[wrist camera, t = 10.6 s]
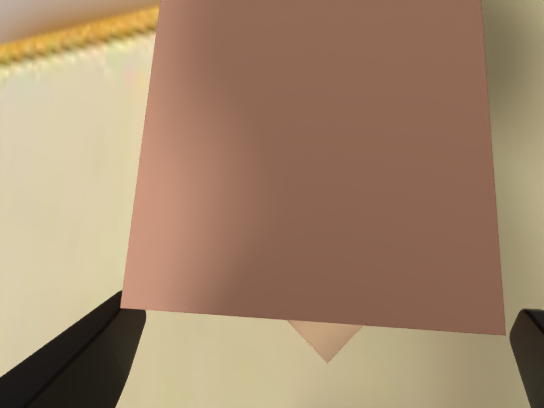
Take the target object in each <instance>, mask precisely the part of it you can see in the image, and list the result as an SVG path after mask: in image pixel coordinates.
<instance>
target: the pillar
mask: <svg viewBox="0 0 544 408" xmlns="http://www.w3.org/2000/svg"><path fill="white" fill-rule="evenodd" d="M120 308H128V309H142V310H156V311H170V312H184V313H198V314H212V315H226V316H240V317H254V318H268V319H282V320H296V321H310V322H324V323H338V324H352V325H366V326H380V327H394V328H408V329H422V330H436V331H450V332H464V333H478V334H492V335H506V330H505V317H504V303H503V290H502V277H501V263H500V250H499V236H498V223H497V209H496V196H495V183H494V169H493V156H492V142H491V129H490V116H489V102H488V89H487V75H486V62H485V48H484V35H483V22H482V8H481V0H161V1H160V8H159V16H158V24H157V31H156V39H155V46H154V54H153V62H152V69H151V77H150V85H149V92H148V100H147V107H146V115H145V123H144V130H143V138H142V146H141V153H140V161H139V169H138V176H137V184H136V191H135V199H134V207H133V214H132V222H131V230H130V237H129V245H128V252H127V260H126V268H125V275H124V283H123V291H122V298H121V306H120Z"/></svg>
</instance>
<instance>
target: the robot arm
mask: <svg viewBox="0 0 544 408" xmlns="http://www.w3.org/2000/svg"><path fill="white" fill-rule="evenodd" d="M122 291H123V290H121V291H119V292H117V293H116V294H115V295H113V296H112V297H111V298H109V299H108V300H106V301H105V302H104V303H102V304H101V305H99V306H98V307H97V308H95V309H94V310H93V311H91V312H90V313H88V314H87V315H86V316H84V317H83V318H82V319H80V320H79V321H77V322H76V323H75V324H73V325H72V326H71V327H69V328H68V329H66V330H65V331H64V332H62V333H61V334H59V335H58V336H57V337H55V338H54V339H53V340H51V341H50V342H48V343H47V344H46V345H44V346H43V347H42V348H40V349H39V350H37V351H36V352H35V353H33V354H32V355H30V356H29V357H28V358H26V359H25V360H24V361H22V362H21V363H19V364H18V365H17V366H15V367H14V368H13V369H11V370H10V371H8V372H7V373H6V374H4V375H3V376H1V377H0V408H115V407H116V405H117V402H118V400H119V398H120V395H121V393H122V391H123V388H124V386H125V383H126V381H127V378H128V375H129V372H130V370H131V366H132V363H133V360H134V357H135V354H136V350H137V347H138V344H139V341H140V338H141V335H142V331H143V328H144V325H145V322H146V311H145V310H142V309H128V308H120V306H121V298H122ZM510 343H511V347H512V350H513V353H514V356H515V359H516V363H517V366H518V369H519V372H520V375H521V378H522V381H523V385H524V388H525V391H526V394H527V397H528V400H529V403H530V406H531V408H544V310H541V309H522V310H521V311H520V312H519V314H518V316H517V318H516V320H515V322H514V325H513V327H512V329H511V332H510Z"/></svg>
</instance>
